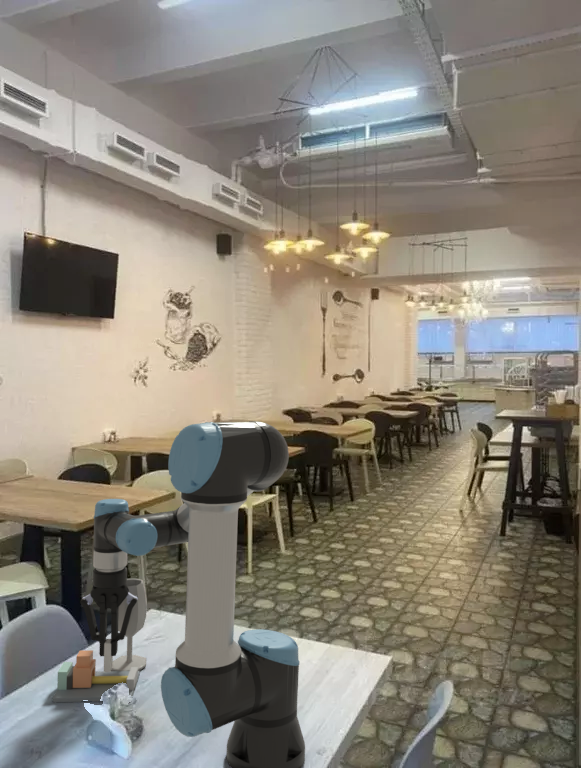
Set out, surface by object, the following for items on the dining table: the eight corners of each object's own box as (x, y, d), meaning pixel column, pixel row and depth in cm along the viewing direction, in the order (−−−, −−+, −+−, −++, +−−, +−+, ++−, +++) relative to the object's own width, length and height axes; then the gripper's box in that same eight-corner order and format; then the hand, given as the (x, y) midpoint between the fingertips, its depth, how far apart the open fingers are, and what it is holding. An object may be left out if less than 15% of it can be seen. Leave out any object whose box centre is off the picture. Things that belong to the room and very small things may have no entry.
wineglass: (151, 659, 159) (154, 577, 158) (140, 675, 150) (142, 589, 150) (118, 656, 160) (120, 575, 159) (105, 673, 151) (107, 586, 151)
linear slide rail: (131, 701, 138) (131, 678, 138) (52, 702, 137) (53, 679, 137) (139, 675, 150) (140, 654, 150) (67, 676, 149) (67, 655, 149)
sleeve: (90, 687, 141) (91, 657, 141) (72, 687, 141) (73, 658, 141) (95, 677, 146) (96, 648, 146) (77, 677, 145) (78, 649, 145)
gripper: (141, 562, 148) (139, 661, 148) (84, 562, 146) (82, 662, 146) (136, 572, 140) (134, 676, 140) (77, 572, 139) (75, 677, 139)
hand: (108, 669), depth 143 cm, fingers closed
